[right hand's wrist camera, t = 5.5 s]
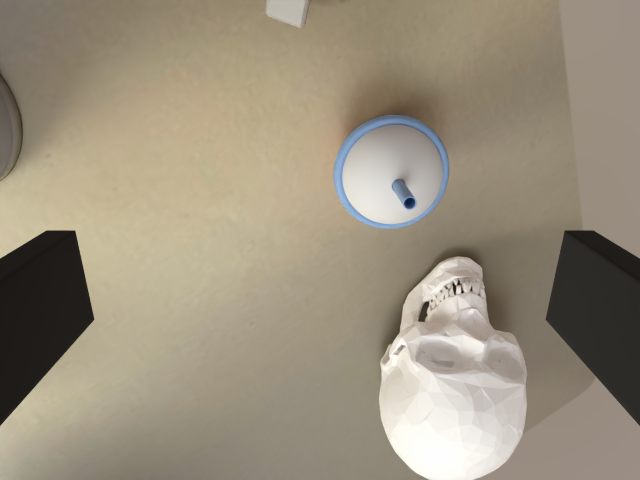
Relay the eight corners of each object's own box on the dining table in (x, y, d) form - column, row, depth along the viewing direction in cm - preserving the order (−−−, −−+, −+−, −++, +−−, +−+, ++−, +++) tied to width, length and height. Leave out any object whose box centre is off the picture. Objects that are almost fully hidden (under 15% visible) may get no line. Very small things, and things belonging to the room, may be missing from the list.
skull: (513, 252, 48) (590, 333, 34) (473, 411, 57) (522, 532, 42) (391, 243, 49) (415, 320, 34) (369, 402, 57) (380, 521, 42)
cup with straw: (424, 102, 43) (491, 127, 26) (419, 194, 46) (475, 267, 29) (330, 104, 43) (336, 130, 26) (331, 196, 46) (337, 270, 30)
